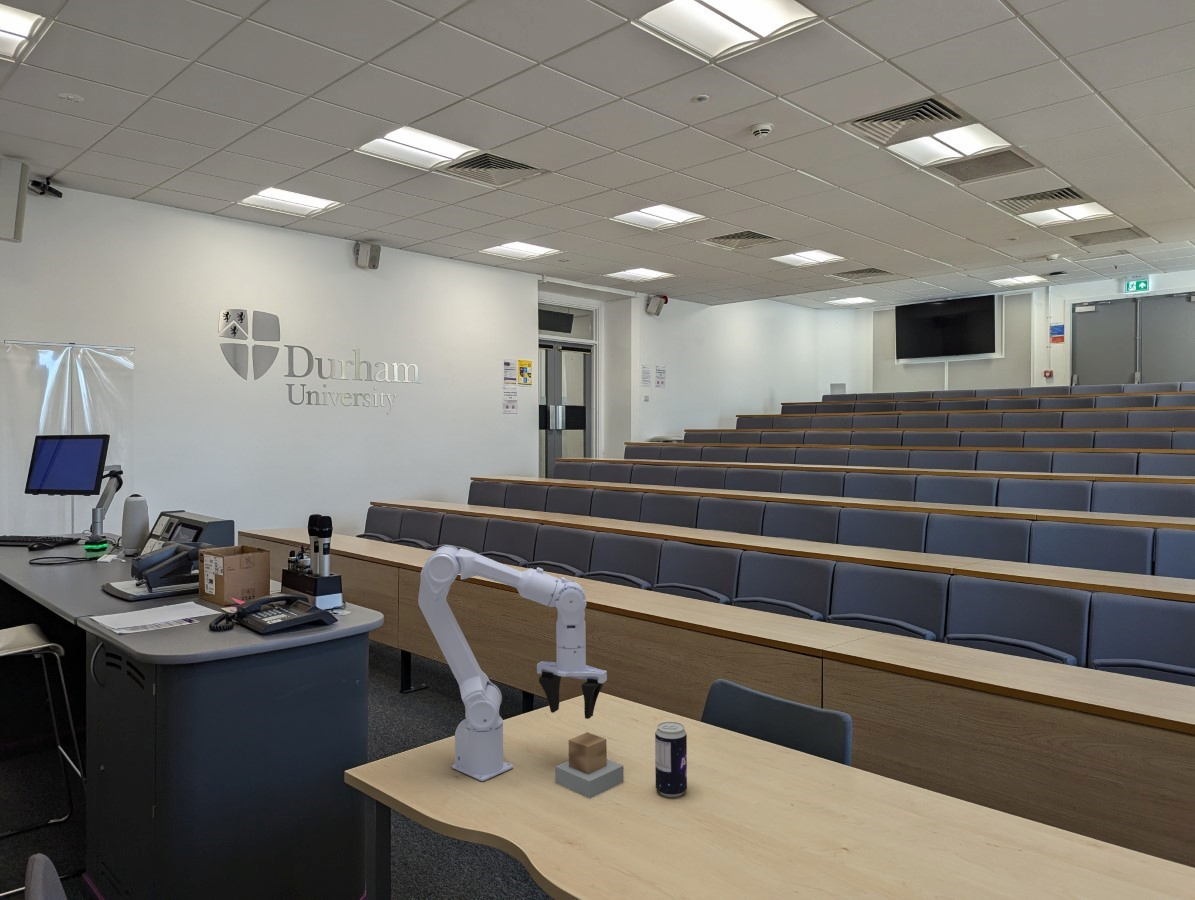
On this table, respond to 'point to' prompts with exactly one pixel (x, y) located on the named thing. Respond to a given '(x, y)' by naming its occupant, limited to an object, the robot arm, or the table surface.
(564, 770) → the grey block
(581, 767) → the walnut cube
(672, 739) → the beverage can
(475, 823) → the table surface
